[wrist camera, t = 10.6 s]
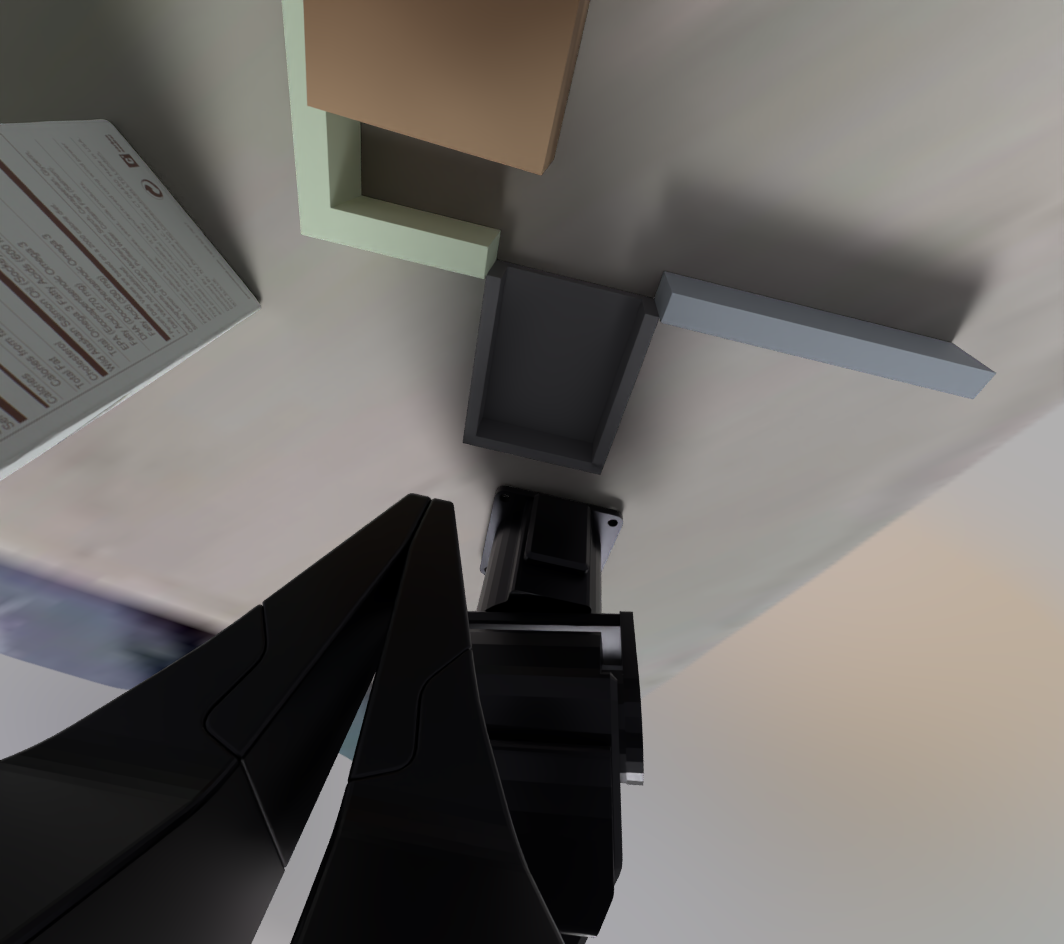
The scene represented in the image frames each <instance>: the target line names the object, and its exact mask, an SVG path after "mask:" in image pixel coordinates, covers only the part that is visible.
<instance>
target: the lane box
mask: <svg viewBox="0 0 1064 944" xmlns="http://www.w3.org/2000/svg"><path fill="white" fill-rule="evenodd" d="M282 10H283V22H284V34H285V46H286V58H287V70H288V82H289V94H290V106H291V118H292V130H293V142H294V154H295V166H296V178H297V190H298V202H299V214H300V226H301V235H305V236H309V237H313V238H318V239H322V240H326V241H330V242H334V243H338V244H342V245H346V246H350V247H354V248H358V249H362V250H366V251H371V252H375V253H379V254H383V255H387V256H391V257H395V258H399V259H403V260H407V261H411V262H415V263H419V264H424V265H428V266H432V267H436V268H440V269H444V270H448V271H452V272H456V273H460V274H464V275H468V276H472V277H477V278H481V279H484V278H485V276H486V282H485V289H484V296H483V303H482V310H481V317H480V324H479V331H478V338H477V345H476V352H475V359H474V366H473V374H472V381H471V388H470V395H469V402H468V409H467V416H466V423H465V430H464V437H463V443H465V444H469V445H474V446H478V447H482V448H487V449H491V450H495V451H500V452H504V453H508V454H513V455H517V456H521V457H526V458H530V459H534V460H539V461H543V462H547V463H551V464H556V465H560V466H564V467H569V468H573V469H577V470H582V471H586V472H590V473H595V474H599V475H600V474H601V472H602V469H603V466H604V464H605V461H606V458H607V456H608V453H609V451H610V448H611V445H612V443H613V440H614V437H615V435H616V432H617V429H618V427H619V424H620V421H621V419H622V416H623V413H624V411H625V408H626V405H627V403H628V400H629V397H630V395H631V392H632V389H633V387H634V384H635V381H636V379H637V376H638V373H639V371H640V368H641V365H642V363H643V360H644V357H645V355H646V352H647V349H648V347H649V344H650V341H651V339H652V336H653V333H654V331H655V328H656V325H657V323H658V320H659V317H660V321H661V323H664V324H668V325H672V326H676V327H680V328H684V329H689V330H693V331H697V332H701V333H705V334H709V335H713V336H717V337H721V338H725V339H729V340H733V341H737V342H742V343H746V344H750V345H754V346H758V347H762V348H766V349H770V350H774V351H778V352H782V353H786V354H790V355H795V356H799V357H803V358H807V359H811V360H815V361H819V362H823V363H827V364H831V365H835V366H839V367H843V368H848V369H852V370H856V371H860V372H864V373H868V374H872V375H876V376H880V377H884V378H888V379H892V380H896V381H901V382H905V383H909V384H913V385H917V386H921V387H925V388H929V389H933V390H937V391H941V392H945V393H949V394H954V395H958V396H962V397H966V398H970V399H974V398H975V397H976V396H977V394H978V393H979V392H980V391H981V390H982V389H983V388H984V387H985V385H986V384H987V383H988V382H989V381H990V380H991V379H992V377H993V376H994V375H995V374H996V373H995V372H994V371H992V370H991V369H990V368H988V367H987V366H985V365H984V364H982V363H981V362H979V361H978V360H976V359H975V358H973V357H972V356H971V355H969V354H968V353H966V352H965V351H963V350H962V349H960V348H959V347H957V346H956V345H955V344H953V343H950V342H946V341H942V340H938V339H934V338H930V337H926V336H922V335H918V334H914V333H910V332H906V331H902V330H898V329H894V328H890V327H886V326H882V325H878V324H874V323H870V322H866V321H862V320H858V319H854V318H850V317H846V316H842V315H838V314H834V313H830V312H826V311H822V310H818V309H814V308H810V307H806V306H802V305H798V304H794V303H790V302H786V301H782V300H778V299H774V298H770V297H766V296H762V295H758V294H754V293H750V292H746V291H742V290H738V289H734V288H730V287H726V286H722V285H718V284H714V283H710V282H706V281H702V280H698V279H694V278H690V277H686V276H682V275H678V274H674V273H670V272H666V271H664V273H663V275H662V278H661V281H660V284H659V286H658V289H657V292H656V295H655V298H650V297H646V296H642V295H638V294H634V293H630V292H626V291H622V290H618V289H614V288H610V287H606V286H602V285H598V284H594V283H590V282H586V281H582V280H577V279H573V278H569V277H565V276H561V275H557V274H553V273H549V272H545V271H541V270H537V269H533V268H529V267H525V266H521V265H517V264H513V263H509V262H505V261H501V260H497V252H498V246H499V239H500V232H501V230H498V229H494V228H490V227H486V226H482V225H478V224H474V223H470V222H466V221H461V220H457V219H453V218H449V217H445V216H441V215H437V214H433V213H429V212H425V211H421V210H417V209H413V208H409V207H405V206H401V205H397V204H393V203H389V202H385V201H381V200H377V199H373V198H369V197H365V196H361V122H360V121H357V120H353V119H350V118H347V117H343V116H340V115H336V114H333V113H330V112H326V111H323V110H320V109H316V108H313V107H310V106H307V88H306V61H305V35H304V8H303V0H282Z"/></svg>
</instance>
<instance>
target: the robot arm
mask: <svg viewBox="0 0 1064 944" xmlns="http://www.w3.org/2000/svg"><path fill="white" fill-rule="evenodd" d="M502 495H508V496H509V497H504V496H502ZM611 519H615V520H616V521H609V520H611ZM622 525H623V517H622V514H621V513H620V512H618V511H616V510H611V509H607V508H603V507H598V506H594V505H589V504H585V503H581V502H576V501H572V500H568V499H563V498H559V497H555V496H550V495H546V494H541V493H537V492H533V491H528V490H524V489H520V488H515V487H511V486H500V487H499V488H498V489H497V491H496V494H495V499H494V503H493V508H492V513H491V518H490V522H489V527H488V532H487V537H486V542H485V546H484V551H483V556H482V561H481V565H480V571H481V573H483V574H484V575H485V578H484V582H483V586H482V590H481V594H480V598H479V603H478V607H477V611H467V605H466V597H465V589H464V582H463V574H462V566H461V558H460V550H459V542H458V534H457V527H456V519H455V511H454V505H453V503H452V502H450V501H445V500H441V499H436V498H434V499H432V500H431V499H430V498H429V497H428V496H423V495H419V494H414V493H410V494H408V495H406V496H405V497H404V498H402V499H401V500H400V501H398V502H397V503H396V504H394V505H393V506H391V507H390V508H389V509H387V510H386V511H385V512H383V513H382V514H381V515H379V516H378V517H377V518H375V519H374V520H373V521H371V522H370V523H369V524H367V525H366V526H364V527H363V528H362V529H360V530H359V531H358V532H356V533H355V534H354V535H352V536H351V537H350V538H348V539H347V540H346V541H344V542H343V543H341V544H340V545H339V546H337V547H336V548H335V549H333V550H332V551H331V552H329V553H328V554H327V555H325V556H324V557H323V558H321V559H320V560H318V561H317V562H316V563H314V564H313V565H312V566H310V567H309V568H308V569H306V570H305V571H304V572H302V573H301V574H300V575H298V576H297V577H295V578H294V579H293V580H291V581H290V582H289V583H287V584H286V585H285V586H283V587H282V588H281V589H279V590H278V591H277V592H275V593H274V594H272V595H271V596H270V597H268V598H267V599H266V600H264V601H263V606H262V605H257V606H256V607H255V608H253V609H252V610H250V611H249V612H248V613H246V614H245V615H244V616H242V617H241V618H240V619H238V620H237V621H235V622H234V623H233V624H231V625H230V626H228V627H227V628H225V629H224V630H223V631H221V632H220V633H218V634H217V635H216V636H214V637H213V638H211V639H210V640H208V641H207V642H205V643H204V644H202V645H201V646H199V647H198V648H196V649H194V650H193V651H191V652H190V653H188V654H187V655H185V656H184V657H182V658H180V659H179V660H177V661H176V662H174V663H173V664H171V665H169V666H168V667H166V668H165V669H163V670H161V671H160V672H158V673H156V674H155V675H153V676H152V677H150V678H148V679H147V680H145V681H143V682H142V683H140V684H138V685H137V686H135V687H134V688H132V689H130V690H129V691H127V692H125V693H124V694H122V695H120V696H119V697H117V698H116V699H114V700H112V701H111V702H109V703H107V704H106V705H104V706H103V707H101V708H99V709H98V710H96V711H94V712H93V713H91V714H89V715H88V716H86V717H85V718H83V719H81V720H80V721H78V722H76V723H75V724H73V725H71V726H70V727H68V728H66V729H65V730H63V731H61V732H59V733H57V734H56V735H54V736H52V737H50V738H48V739H46V740H44V741H42V742H40V743H38V744H37V745H34V746H32V747H30V748H28V749H25V750H23V751H21V752H19V753H17V754H14V755H12V756H9V757H7V758H4V759H2V760H0V944H251V943H252V941H253V939H254V937H255V934H256V932H257V930H258V928H259V926H260V924H261V921H262V919H263V917H264V915H265V913H266V910H267V908H268V906H269V904H270V902H271V900H272V897H273V895H274V893H275V891H276V889H277V886H278V884H279V882H280V880H281V878H282V876H283V873H284V871H285V869H284V867H286V866H287V864H288V862H289V860H290V858H291V856H292V853H293V851H294V849H295V847H296V844H297V842H298V840H299V838H300V836H301V834H302V832H303V829H304V827H305V825H306V823H307V821H308V818H309V816H310V814H311V812H312V810H313V807H314V805H315V803H316V801H317V799H318V797H319V794H320V792H321V790H322V788H323V786H324V783H325V781H326V779H327V777H328V775H329V773H330V770H331V768H332V766H333V764H334V761H335V759H336V757H337V755H338V753H339V751H340V749H341V746H342V744H343V742H344V740H345V738H346V735H347V733H348V731H349V729H350V727H351V725H352V722H353V720H354V718H355V716H356V714H357V711H358V709H359V707H360V705H361V703H362V701H363V698H364V696H365V694H366V692H367V690H368V687H369V685H370V683H371V681H372V679H373V676H374V674H375V677H374V681H373V685H372V689H371V692H370V696H369V700H368V704H367V708H366V712H365V715H364V719H363V723H362V727H361V731H360V735H359V738H358V742H357V746H356V750H355V754H354V758H353V761H352V766H351V769H350V773H349V777H348V784H347V786H346V789H345V792H344V796H343V800H342V803H341V807H340V810H339V813H338V817H337V820H336V823H335V826H334V829H333V833H332V836H331V838H330V841H329V844H328V846H327V849H326V852H325V854H324V857H323V859H322V862H321V865H320V867H319V870H318V873H317V875H316V878H315V881H314V883H313V885H312V888H311V891H310V893H309V896H308V899H307V901H306V904H305V906H304V909H303V912H302V914H301V917H300V919H299V922H298V925H297V927H296V930H295V933H294V935H293V938H292V940H291V943H290V944H585V942H586V940H587V938H588V937H593V938H596V936H597V935H598V933H599V931H600V929H601V926H602V923H603V921H604V919H605V916H606V914H607V912H608V909H609V907H610V904H611V902H612V899H613V895H614V885H615V883H616V881H617V879H618V877H619V875H620V872H621V869H622V831H621V830H622V827H621V793H620V783H626V784H630V785H631V784H632V785H643V776H644V775H643V774H644V772H643V771H644V769H643V736H642V735H643V734H642V715H641V698H640V685H639V674H638V663H637V653H636V642H635V632H634V621H633V612H621V611H620V614H606V613H601V572H602V570H603V567H604V565H605V563H606V561H607V559H608V556H609V554H610V552H611V550H612V547H613V545H614V543H615V541H616V538H617V536H618V534H619V532H620V530H621V527H622ZM375 672H376V673H375Z"/></svg>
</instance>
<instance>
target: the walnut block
mask: <svg viewBox="0 0 1064 944" xmlns="http://www.w3.org/2000/svg"><path fill="white" fill-rule="evenodd" d="M589 3H590V0H303V8H304V35H305V61H306V88H307V106H310V107H313V108H316V109H320V110H323V111H326V112H330V113H333V114H336V115H340V116H343V117H347V118H350V119H353V120H357V121H360V122H363V123H367V124H370V125H373V126H377V127H380V128H383V129H387V130H390V131H394V132H397V133H400V134H404V135H407V136H410V137H414V138H417V139H420V140H424V141H427V142H430V143H434V144H437V145H440V146H444V147H447V148H451V149H454V150H457V151H461V152H464V153H467V154H471V155H474V156H477V157H481V158H484V159H487V160H491V161H494V162H498V163H501V164H504V165H508V166H511V167H514V168H518V169H521V170H524V171H528V172H531V173H534V174H538V175H542V174H543V173H544V172H545V170H546V169H547V168H548V166H549V165H550V164H551V162H552V161H553V160H554V157H555V152H556V148H557V143H558V139H559V135H560V130H561V126H562V121H563V117H564V113H565V108H566V104H567V100H568V95H569V91H570V86H571V82H572V78H573V73H574V69H575V64H576V60H577V56H578V51H579V47H580V43H581V38H582V34H583V29H584V25H585V21H586V16H587V12H588V7H589Z"/></svg>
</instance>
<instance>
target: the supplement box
mask: <svg viewBox="0 0 1064 944" xmlns="http://www.w3.org/2000/svg"><path fill="white" fill-rule="evenodd" d="M260 308H261V305H260V304H259V302H258V300H257V299H256V298H255V296H254V295H253V294H252V293H251V292H250V290H249V289H248V288H247V286H246V285H245V284H244V282H243V281H242V280H241V279H240V278H239V276H238V275H237V274H236V273H235V272H234V270H233V269H232V268H231V267H230V266H229V264H228V263H227V262H226V260H225V259H224V258H223V257H222V255H221V254H220V253H219V252H218V251H217V250H216V248H215V247H214V246H213V245H212V243H211V242H210V241H209V240H208V239H207V238H206V236H205V235H204V234H203V232H202V231H201V230H200V229H199V227H198V226H197V225H196V224H195V223H194V221H193V220H192V219H191V218H190V217H189V215H188V214H187V213H186V212H185V211H184V209H183V208H182V207H181V206H180V204H179V203H178V202H177V201H176V200H175V198H174V197H173V196H172V195H171V193H170V192H169V191H168V190H167V188H166V187H165V186H164V185H163V184H162V182H161V181H160V180H159V179H158V178H157V176H156V175H155V174H154V173H153V172H152V171H151V169H150V168H149V167H148V166H147V164H146V163H145V162H144V161H143V160H142V159H141V157H140V156H139V155H138V154H137V153H136V151H135V150H134V149H133V148H132V147H131V145H130V144H129V143H128V142H127V140H126V139H125V138H124V137H123V136H122V135H121V134H120V132H119V131H118V130H117V129H116V128H115V126H114V125H112V124H111V123H110V122H109V121H107V120H105V119H95V120H74V121H44V122H30V123H1V124H0V481H1V480H2V479H4V478H6V477H7V476H9V475H10V474H12V473H13V472H15V471H16V470H18V469H20V468H21V467H23V466H24V465H26V464H27V463H29V462H30V461H32V460H33V459H35V458H37V457H38V456H40V455H41V454H43V453H44V452H46V451H47V450H49V449H50V448H52V447H54V446H55V445H57V444H58V443H60V442H61V441H63V440H64V439H66V438H67V437H69V436H71V435H72V434H74V433H75V432H77V431H78V430H80V429H81V428H83V427H85V426H86V425H88V424H89V423H91V422H92V421H94V420H95V419H97V418H98V417H100V416H102V415H103V414H105V413H106V412H108V411H109V410H111V409H112V408H114V407H115V406H117V405H118V404H120V403H121V402H123V401H124V400H126V399H127V398H129V397H130V396H132V395H133V394H135V393H136V392H138V391H139V390H141V389H142V388H144V387H145V386H147V385H148V384H150V383H151V382H153V381H154V380H156V379H157V378H159V377H160V376H162V375H163V374H165V373H166V372H168V371H169V370H171V369H172V368H174V367H175V366H177V365H178V364H180V363H181V362H183V361H184V360H186V359H187V358H188V357H190V356H191V355H193V354H194V353H196V352H197V351H199V350H200V349H202V348H203V347H204V346H206V345H207V344H209V343H210V342H212V341H213V340H215V339H216V338H218V337H219V336H221V335H222V334H223V333H225V332H226V331H228V330H229V329H231V328H232V327H234V326H235V325H237V324H238V323H240V322H241V321H243V320H244V319H246V318H247V317H249V316H250V315H252V314H254V313H255V312H257V311H258V310H260Z"/></svg>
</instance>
